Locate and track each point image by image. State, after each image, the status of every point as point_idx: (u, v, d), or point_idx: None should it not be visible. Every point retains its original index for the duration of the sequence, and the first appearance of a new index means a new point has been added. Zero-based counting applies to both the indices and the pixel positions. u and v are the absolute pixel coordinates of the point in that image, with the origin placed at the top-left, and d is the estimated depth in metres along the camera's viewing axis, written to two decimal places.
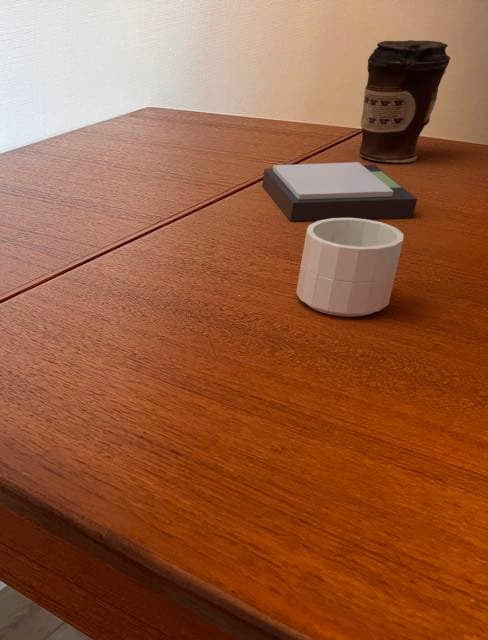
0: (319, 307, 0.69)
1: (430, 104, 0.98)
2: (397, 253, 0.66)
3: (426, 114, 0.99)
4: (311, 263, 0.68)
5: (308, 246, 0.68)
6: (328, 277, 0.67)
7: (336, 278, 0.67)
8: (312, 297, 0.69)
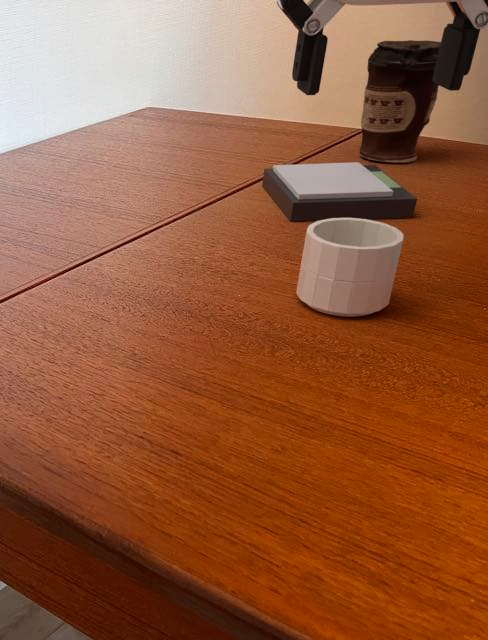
0: (319, 307, 0.69)
1: (430, 104, 0.98)
2: (397, 253, 0.66)
3: (426, 114, 0.99)
4: (311, 263, 0.68)
5: (308, 246, 0.68)
6: (328, 277, 0.67)
7: (336, 278, 0.67)
8: (312, 297, 0.69)
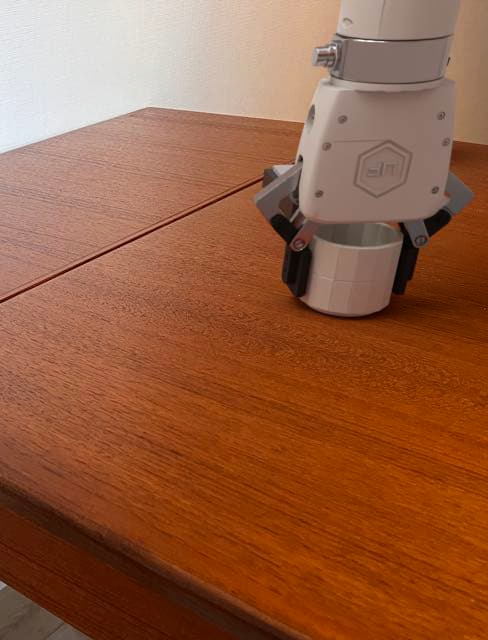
0: (319, 307, 0.69)
1: None
2: (397, 253, 0.66)
3: None
4: (311, 263, 0.68)
5: (308, 246, 0.68)
6: (328, 277, 0.67)
7: (336, 278, 0.67)
8: (312, 297, 0.69)
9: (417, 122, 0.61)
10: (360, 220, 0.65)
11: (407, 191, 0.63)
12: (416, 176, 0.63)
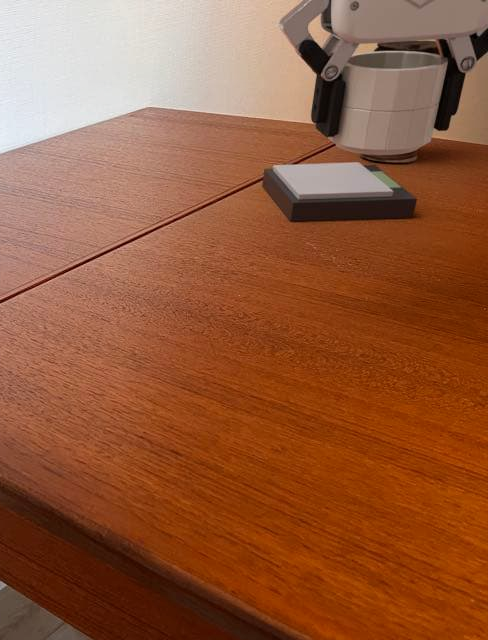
0: (354, 145, 0.62)
1: None
2: (441, 77, 0.60)
3: None
4: (344, 96, 0.62)
5: (341, 77, 0.62)
6: (364, 108, 0.61)
7: (373, 108, 0.60)
8: (346, 135, 0.63)
9: None
10: (400, 37, 0.58)
11: None
12: None
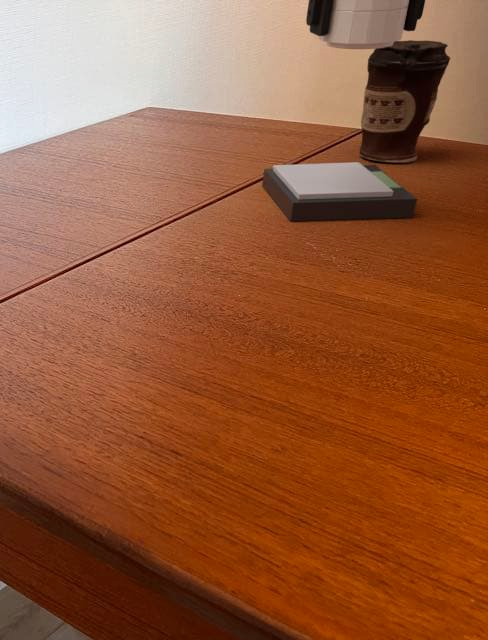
0: (341, 41, 0.78)
1: (430, 104, 0.98)
2: None
3: (426, 114, 0.99)
4: (333, 1, 0.77)
5: None
6: (349, 10, 0.76)
7: (356, 9, 0.76)
8: (334, 34, 0.78)
9: None
10: None
11: None
12: None
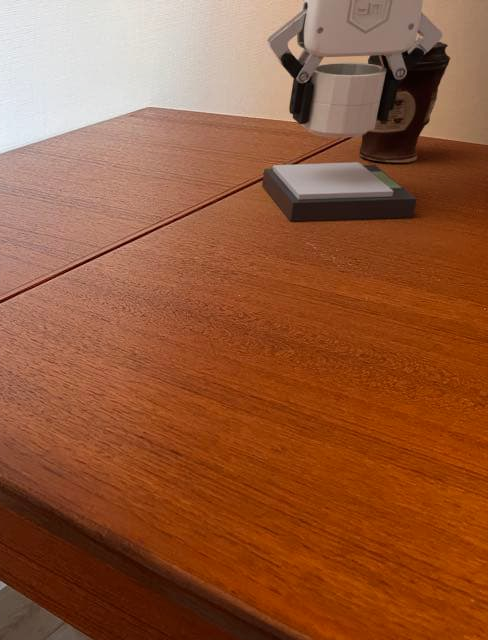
0: (319, 130, 0.86)
1: (430, 104, 0.98)
2: (381, 82, 0.84)
3: (426, 114, 0.99)
4: (313, 94, 0.86)
5: (311, 80, 0.86)
6: (326, 103, 0.85)
7: (333, 103, 0.84)
8: (313, 122, 0.86)
9: None
10: (352, 53, 0.82)
11: (389, 27, 0.81)
12: (396, 14, 0.80)
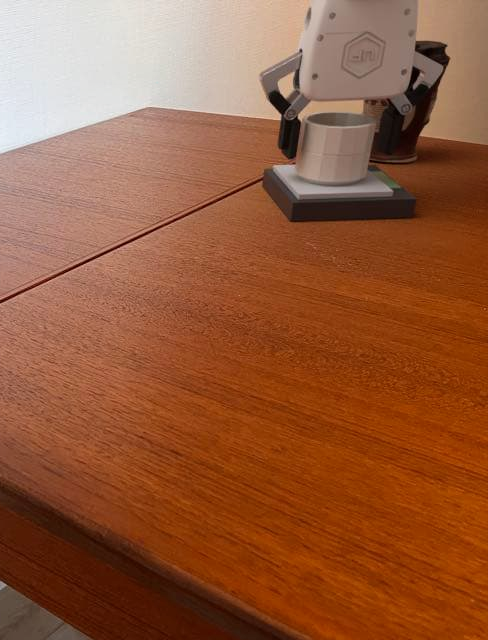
0: (312, 178, 0.89)
1: (430, 104, 0.98)
2: (372, 133, 0.86)
3: (426, 114, 0.99)
4: (305, 143, 0.88)
5: (303, 130, 0.88)
6: (319, 153, 0.87)
7: (325, 153, 0.87)
8: (306, 171, 0.89)
9: (388, 17, 0.80)
10: (347, 97, 0.84)
11: (382, 73, 0.83)
12: (389, 61, 0.82)
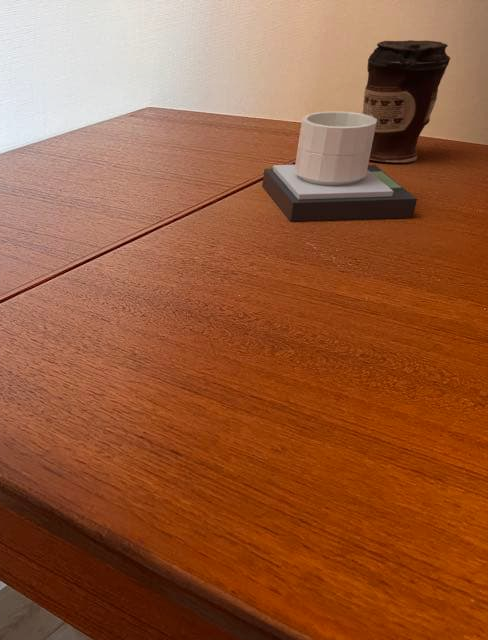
0: (312, 178, 0.89)
1: (430, 104, 0.98)
2: (372, 133, 0.86)
3: (426, 114, 0.99)
4: (305, 143, 0.88)
5: (303, 130, 0.88)
6: (319, 153, 0.87)
7: (325, 153, 0.87)
8: (306, 171, 0.89)
9: None
10: None
11: None
12: None
